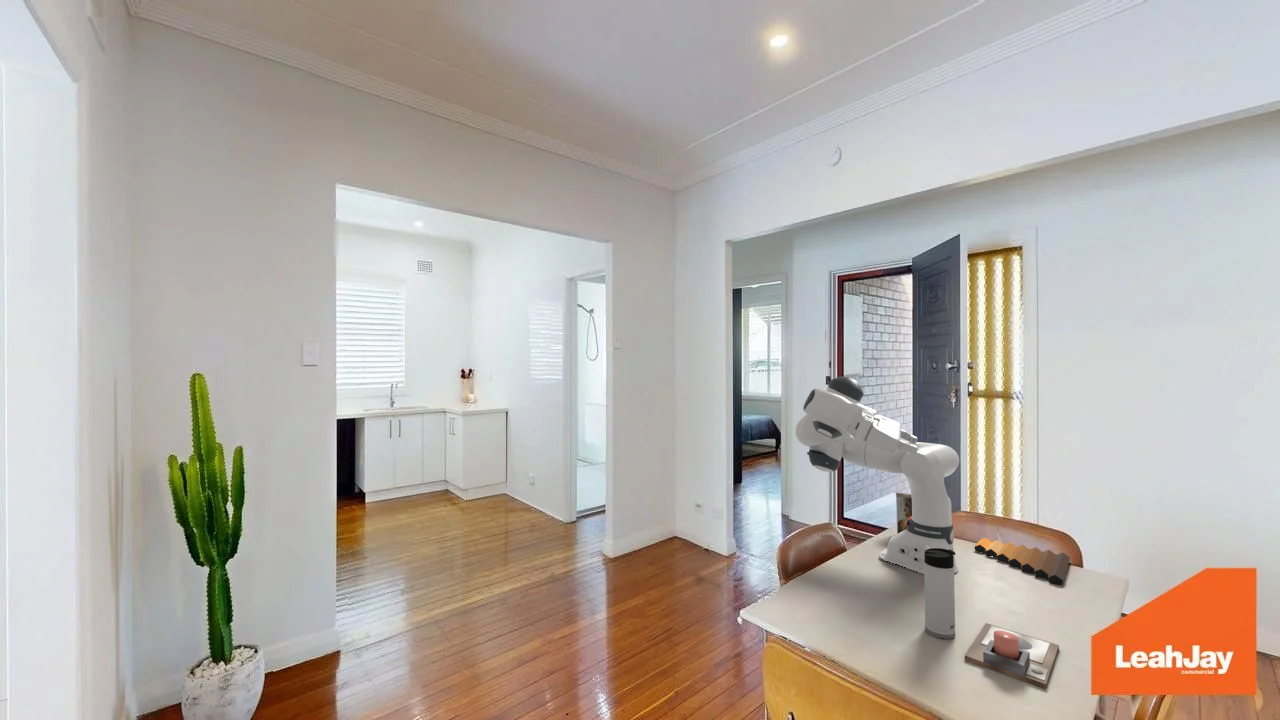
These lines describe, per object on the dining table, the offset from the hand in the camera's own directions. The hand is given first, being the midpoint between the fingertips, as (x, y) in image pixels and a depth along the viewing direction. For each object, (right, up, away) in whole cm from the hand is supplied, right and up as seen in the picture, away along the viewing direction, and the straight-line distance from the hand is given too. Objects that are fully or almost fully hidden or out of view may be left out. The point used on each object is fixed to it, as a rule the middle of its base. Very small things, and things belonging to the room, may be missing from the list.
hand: (916, 445), depth 131 cm
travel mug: (0, -44, -10) cm, 45 cm away
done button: (+6, -41, -23) cm, 48 cm away
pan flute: (+52, -45, +33) cm, 76 cm away
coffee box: (+30, -45, +58) cm, 79 cm away
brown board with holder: (+11, -44, -19) cm, 49 cm away
